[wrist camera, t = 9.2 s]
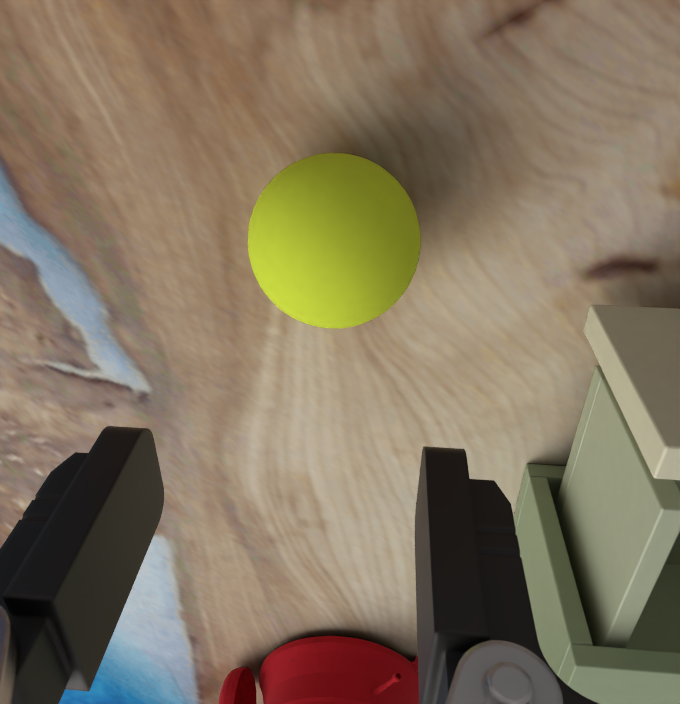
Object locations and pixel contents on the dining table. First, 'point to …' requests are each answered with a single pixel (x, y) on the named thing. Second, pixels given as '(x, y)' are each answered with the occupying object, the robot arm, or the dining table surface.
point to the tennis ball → (334, 240)
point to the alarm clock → (327, 675)
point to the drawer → (628, 481)
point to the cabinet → (578, 610)
